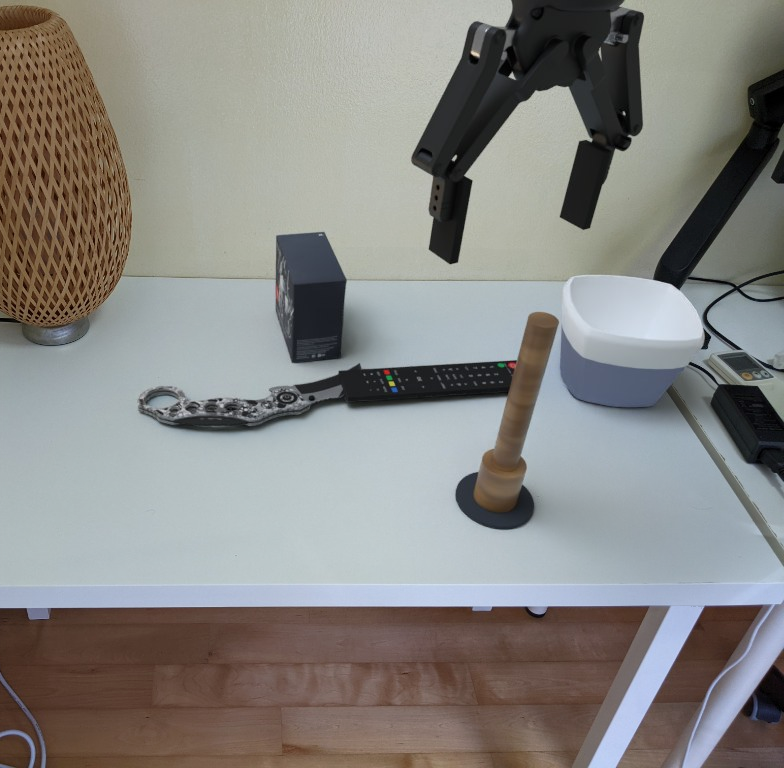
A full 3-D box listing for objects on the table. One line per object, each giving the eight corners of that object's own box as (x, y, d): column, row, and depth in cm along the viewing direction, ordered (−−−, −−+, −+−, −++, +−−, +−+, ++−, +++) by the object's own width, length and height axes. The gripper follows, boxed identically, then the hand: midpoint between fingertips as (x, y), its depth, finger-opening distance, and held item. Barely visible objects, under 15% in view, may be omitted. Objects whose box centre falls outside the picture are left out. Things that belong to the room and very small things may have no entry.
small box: (273, 310, 110) (274, 233, 102) (320, 306, 111) (325, 229, 103) (290, 364, 100) (293, 282, 92) (342, 359, 100) (349, 278, 93)
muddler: (525, 503, 80) (580, 325, 67) (493, 519, 78) (543, 338, 65) (496, 477, 83) (543, 301, 70) (464, 491, 81) (506, 313, 68)
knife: (360, 358, 98) (383, 403, 90) (359, 368, 99) (382, 414, 91) (135, 381, 94) (139, 431, 86) (136, 392, 95) (140, 442, 87)
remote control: (337, 379, 96) (338, 370, 95) (519, 368, 100) (522, 359, 99) (347, 406, 92) (348, 397, 91) (536, 393, 95) (539, 385, 95)
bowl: (553, 413, 92) (577, 335, 86) (535, 341, 105) (555, 268, 98) (687, 425, 91) (722, 348, 84) (653, 351, 103) (681, 278, 96)
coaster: (550, 511, 80) (551, 509, 79) (491, 540, 76) (492, 537, 76) (496, 464, 85) (497, 461, 85) (439, 489, 82) (440, 486, 82)
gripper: (667, -81, 56) (590, 194, 69) (381, -64, 47) (354, 250, 60) (760, -68, 51) (658, 227, 64) (459, -46, 42) (411, 294, 55)
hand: (511, 239), depth 62 cm, fingers open, 13 cm apart
